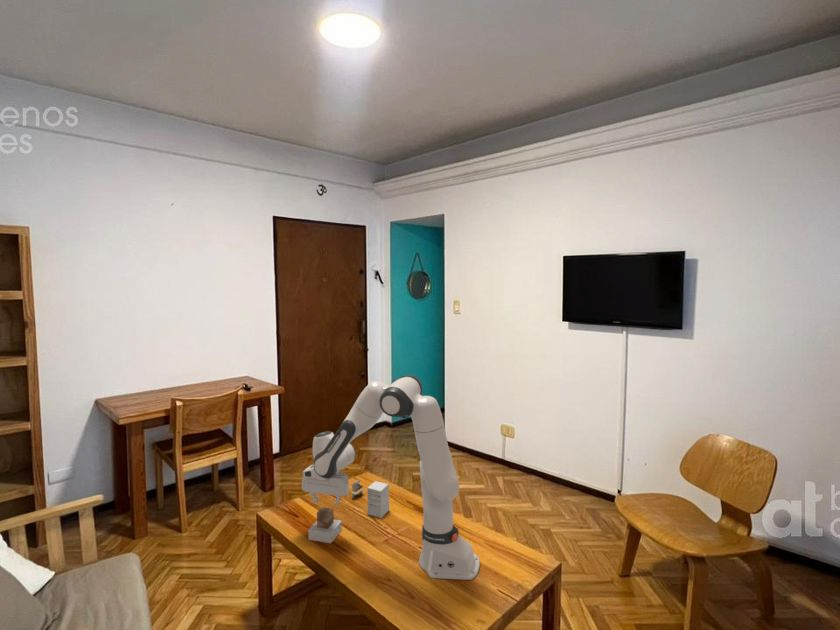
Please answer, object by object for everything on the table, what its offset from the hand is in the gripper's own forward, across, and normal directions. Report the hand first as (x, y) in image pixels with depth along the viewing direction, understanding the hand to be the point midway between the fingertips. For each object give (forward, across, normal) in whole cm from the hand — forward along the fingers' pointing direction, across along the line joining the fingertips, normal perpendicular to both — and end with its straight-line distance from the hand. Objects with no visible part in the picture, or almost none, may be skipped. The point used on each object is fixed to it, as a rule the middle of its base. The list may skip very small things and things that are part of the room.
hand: (326, 503), depth 185 cm
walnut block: (+9, +1, +1) cm, 9 cm away
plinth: (+13, +1, +1) cm, 13 cm away
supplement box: (+14, -14, -22) cm, 29 cm away
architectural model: (+14, +2, -33) cm, 36 cm away
